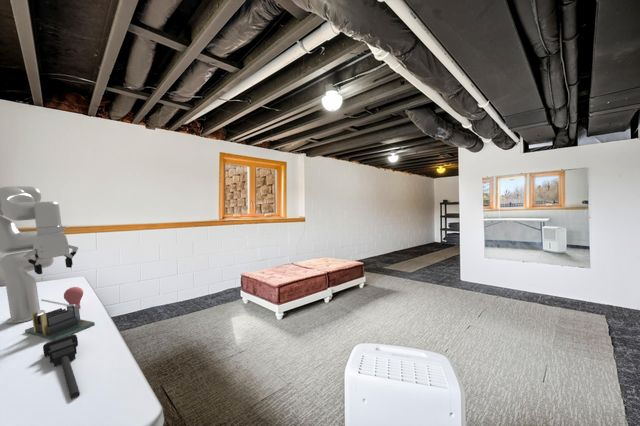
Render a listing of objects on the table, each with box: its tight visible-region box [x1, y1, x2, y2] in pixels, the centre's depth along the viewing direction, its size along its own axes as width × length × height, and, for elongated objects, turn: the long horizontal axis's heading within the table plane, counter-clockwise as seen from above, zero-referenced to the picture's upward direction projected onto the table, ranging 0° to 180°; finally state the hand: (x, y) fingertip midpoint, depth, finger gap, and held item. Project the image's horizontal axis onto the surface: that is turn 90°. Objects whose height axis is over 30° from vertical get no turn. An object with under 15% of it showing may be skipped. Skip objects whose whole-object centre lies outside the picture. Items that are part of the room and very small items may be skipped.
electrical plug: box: [42, 333, 81, 400], centre depth 83 cm, size 9×42×5 cm, turn 48°
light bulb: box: [63, 286, 84, 310], centre depth 131 cm, size 7×7×12 cm
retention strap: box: [40, 299, 75, 308], centre depth 112 cm, size 3×12×2 cm, turn 157°
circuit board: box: [24, 303, 96, 341], centre depth 112 cm, size 24×13×9 cm, turn 67°
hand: (54, 270), depth 113 cm, fingers open, 9 cm apart
